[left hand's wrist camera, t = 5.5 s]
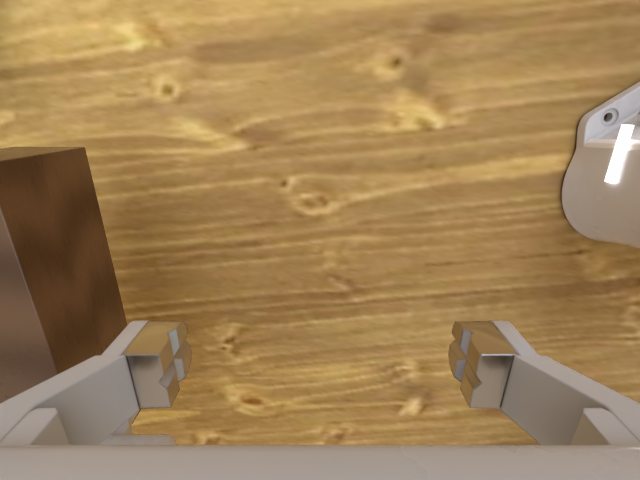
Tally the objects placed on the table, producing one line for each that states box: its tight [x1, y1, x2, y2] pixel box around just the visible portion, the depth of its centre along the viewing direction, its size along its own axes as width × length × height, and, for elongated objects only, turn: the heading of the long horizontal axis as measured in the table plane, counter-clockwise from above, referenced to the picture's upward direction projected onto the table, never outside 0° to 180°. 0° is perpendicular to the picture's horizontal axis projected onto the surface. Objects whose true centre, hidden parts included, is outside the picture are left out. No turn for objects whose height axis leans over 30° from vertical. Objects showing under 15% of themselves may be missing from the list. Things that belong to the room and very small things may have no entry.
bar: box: [0, 147, 141, 423], centre depth 27 cm, size 26×5×8 cm, turn 0°
